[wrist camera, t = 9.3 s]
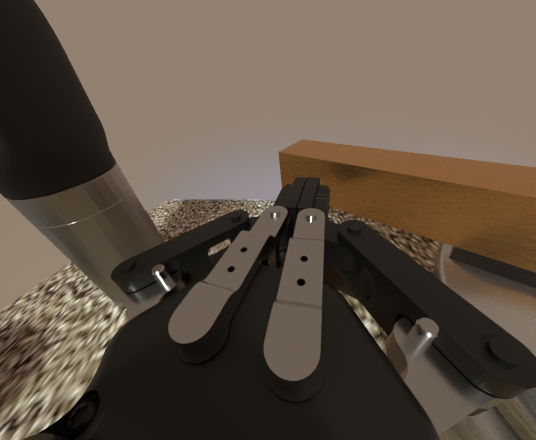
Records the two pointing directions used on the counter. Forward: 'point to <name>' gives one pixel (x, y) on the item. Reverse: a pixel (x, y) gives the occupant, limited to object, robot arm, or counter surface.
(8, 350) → the counter surface
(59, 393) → the counter surface
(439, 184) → the lid
